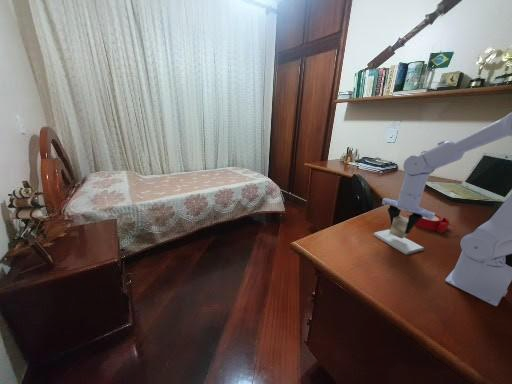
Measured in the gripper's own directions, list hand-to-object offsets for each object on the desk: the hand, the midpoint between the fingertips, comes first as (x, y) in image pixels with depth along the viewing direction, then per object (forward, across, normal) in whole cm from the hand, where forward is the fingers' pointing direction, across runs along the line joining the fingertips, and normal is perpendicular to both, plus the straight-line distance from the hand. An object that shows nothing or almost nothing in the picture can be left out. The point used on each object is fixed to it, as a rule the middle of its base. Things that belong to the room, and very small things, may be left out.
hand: (399, 229), depth 71 cm
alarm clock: (+5, +2, +25) cm, 25 cm away
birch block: (+2, 0, 0) cm, 2 cm away
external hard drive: (+5, 0, 0) cm, 5 cm away
